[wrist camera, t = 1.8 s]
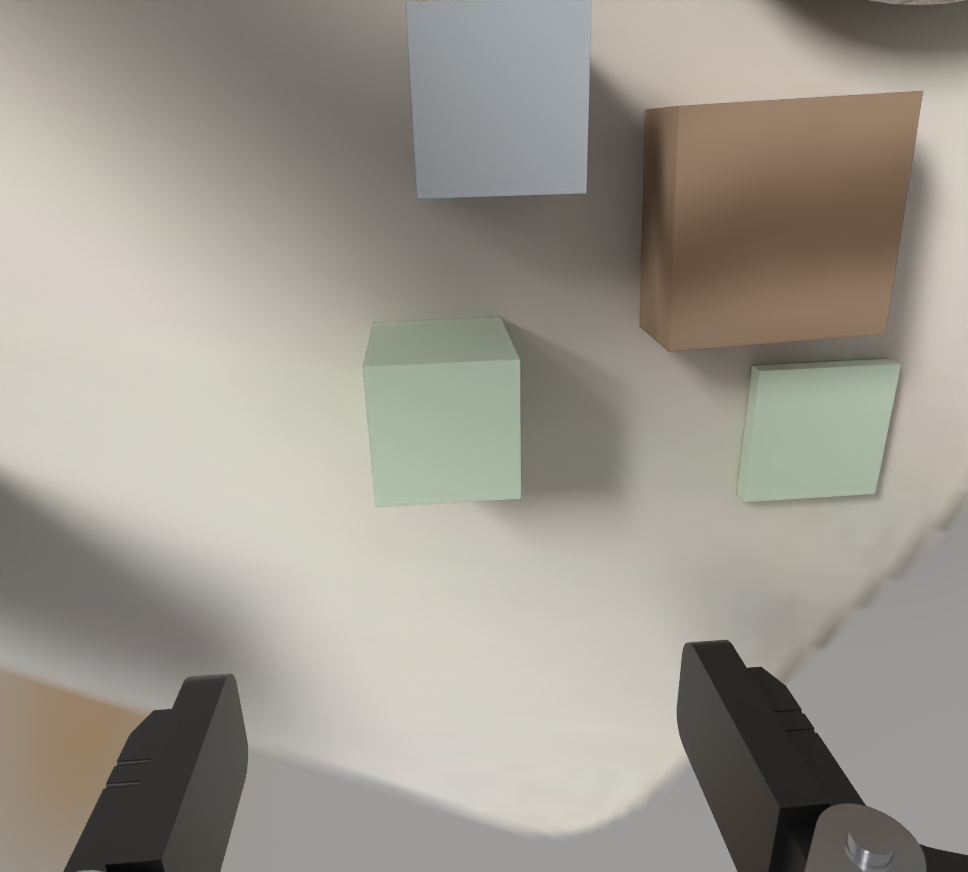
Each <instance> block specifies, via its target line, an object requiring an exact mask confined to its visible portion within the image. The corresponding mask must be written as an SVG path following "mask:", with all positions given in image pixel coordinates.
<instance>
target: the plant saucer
mask: <svg viewBox="0 0 968 872" xmlns="http://www.w3.org/2000/svg"><path fill="white" fill-rule="evenodd" d="M868 1H874V2H880V3H887V4H897V5H938V4H946V3H954V2H961V1H967V0H868Z"/></svg>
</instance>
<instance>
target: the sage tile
mask: <svg viewBox="0 0 968 872" xmlns="http://www.w3.org/2000/svg"><path fill="white" fill-rule="evenodd" d="M900 368H901V364H900V363H898V362H896V361H894V360H892V359H871V360H850V361H830V362H810V363H790V364H770V365H752V369H751V377H750V386H749V394H748V402H747V411H746V419H745V427H744V436H743V444H742V453H741V461H740V469H739V478H738V486H737V495H738V496H739V497H740V498H741V499H742V501H743V502H754V501H770V500H786V499H802V498H818V497H834V496H850V495H866V494H875V493H876V488H877V483H878V478H879V473H880V468H881V463H882V458H883V453H884V448H885V443H886V438H887V433H888V428H889V423H890V418H891V413H892V408H893V403H894V398H895V393H896V388H897V383H898V378H899V373H900Z"/></svg>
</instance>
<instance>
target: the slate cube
mask: <svg viewBox="0 0 968 872" xmlns="http://www.w3.org/2000/svg"><path fill="white" fill-rule="evenodd" d="M591 4H592V0H458V1H406V16H407V34H408V51H409V68H410V86H411V103H412V121H413V138H414V155H415V173H416V190H417V199H430V198H460V197H490V196H520V195H550V194H580V193H586V190H587V153H588V115H589V78H590V41H591Z"/></svg>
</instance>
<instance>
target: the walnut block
mask: <svg viewBox="0 0 968 872" xmlns="http://www.w3.org/2000/svg"><path fill="white" fill-rule="evenodd" d="M922 96H923V91H912V92H895V93H879V94H863V95H847V96H831V97H815V98H799V99H783V100H767V101H751V102H735V103H718V104H702V105H686V106H674V107H665V108H657V109H648V110H645V126H644V168H643V210H642V252H641V294H640V327H641V328H642V329H643V330H644V331H646V332H647V333H648V334H649V335H650V336H651V337H653V338H654V339H655V340H656V341H657V342H658V343H660V344H661V345H662V346H663V347H664V348H665V349H667V350H668V351H681V350H694V349H706V348H718V347H731V346H743V345H755V344H768V343H780V342H792V341H805V340H817V339H829V338H841V337H854V336H866V335H878V334H885V332H886V326H887V319H888V313H889V307H890V300H891V294H892V287H893V281H894V275H895V268H896V262H897V255H898V249H899V243H900V236H901V230H902V224H903V217H904V211H905V204H906V198H907V192H908V185H909V179H910V172H911V166H912V160H913V153H914V147H915V140H916V134H917V128H918V121H919V115H920V109H921V102H922Z"/></svg>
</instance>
